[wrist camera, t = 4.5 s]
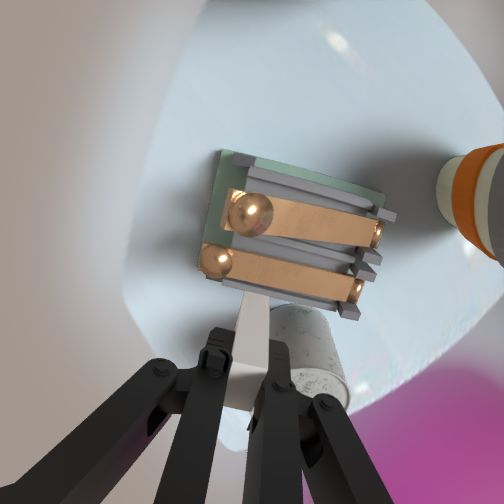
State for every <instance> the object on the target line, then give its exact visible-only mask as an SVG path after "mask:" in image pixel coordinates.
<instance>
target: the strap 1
mask: <svg viewBox="0 0 504 504" xmlns="http://www.w3.org/2000/svg"><path fill="white" fill-rule="evenodd" d="M384 226H385V223H384V222H382V221H380V220H377V219H374V218H370V217H366V216H362V215H358V214H354V213H350V212H345V211H341V210H337V209H332V208H328V207H324V206H319V205H314V204H310V203H305V202H300V201H296V200H291V199H286V198H281V197H276V196H271V195H266V194H260V193H258V192H255V191H244V190H239V189H233V188H228V193H227V197H226V201H225V206H224V210H223V214H222V219H221V223H220V227H221V228H223V229H224V230H229V231H236V232H237V233H239V234H240V235H241V236H244V237H248V238H252V237H257V236H259V235H261V234H265V235H274V236H282V237H291V238H299V239H307V240H316V241H324V242H332V243H340V244H348V245H355V246H363V247H371V248H375V249H377V247H378V244H379V241H380V238H381V235H382V232H383V229H384Z"/></svg>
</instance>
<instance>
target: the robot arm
mask: <svg viewBox="0 0 504 504" xmlns="http://www.w3.org/2000/svg"><path fill="white" fill-rule="evenodd" d="M269 311H270V297H269V296H265V295H261V294H257V293H253V292H248V291H244V295H243V299H242V303H241V306H240V310H239V314H238V318H237V322H236V326H235V329H234V331H231V330H227V329H223V328H219V327H216V328H214V329H213V330H212V331H210V334H209V337H208V340H207V344H206V346H205V348H203V349H202V350H201V351H200V355H199V360H198V365H197V366H196V367H194V368H190V369H177V367H176V365H175V364H174V363H173V362H171V361H170V360H167V359H163V358H156V359H151V360H150V361H148V362H147V363H146V364H145V365H144V366H143V367H142V368H140V369H139V370H138V371H137V372H136V373H135V374H134V375H133V376H132V377H131V378H130V379H129V380H127V381H126V382H125V383H124V384H123V385H122V386H121V387H120V388H119V389H118V390H117V391H116V392H114V393H113V394H112V395H111V396H110V397H109V398H108V399H107V400H106V401H105V402H104V403H102V404H101V405H100V406H99V407H98V408H97V409H96V410H95V411H94V412H93V413H92V414H91V415H89V416H88V417H87V418H86V419H85V420H84V421H83V422H82V423H81V424H80V425H79V426H77V427H76V428H75V429H74V430H73V431H72V432H71V433H70V434H69V435H67V436H66V437H65V438H64V439H63V440H62V441H61V442H60V443H59V444H58V445H57V446H55V447H54V448H53V449H52V450H51V451H50V452H49V453H48V454H47V455H45V456H44V457H43V458H42V459H41V460H40V461H39V462H38V463H37V464H35V465H34V466H33V467H32V468H31V469H30V470H29V471H28V472H27V473H25V474H24V475H23V476H22V477H21V478H20V479H19V480H18V481H16V482H15V483H13V484H10V485H7V486H4V487H1V488H0V504H100V503H101V502H102V501H103V499H104V498H105V497H106V496H107V495H108V494H109V492H110V491H111V490H112V489H113V488H114V486H115V485H116V484H117V483H118V482H119V480H120V479H121V478H122V477H123V476H124V474H125V473H126V472H127V471H128V470H129V468H130V467H131V466H132V465H133V463H134V462H135V461H136V460H137V459H138V457H139V456H140V455H141V453H142V452H143V451H144V450H145V449H146V447H147V446H148V445H149V444H150V442H151V441H152V440H153V439H154V437H155V436H156V435H157V434H158V432H159V431H160V430H161V429H162V427H163V426H164V425H165V423H166V422H167V421H168V420H169V418H170V417H171V415H172V414H182V415H181V418H180V421H179V424H178V427H177V430H176V433H175V436H174V440H173V443H172V446H171V449H170V452H169V455H168V458H167V461H166V465H165V468H164V471H163V474H162V477H161V481H160V484H159V487H158V490H157V493H156V497H155V500H154V503H153V504H204V503H205V498H206V493H207V488H208V483H209V477H210V472H211V467H212V462H213V456H214V451H215V446H216V440H217V435H218V430H219V425H220V419H221V414H222V409H223V406H226V407H230V408H235V409H239V410H244V411H249V412H252V410H253V407H254V413H253V416H252V418H251V421H250V423H249V425H248V428H247V431H249V430H250V432H249V442H248V452H247V463H246V472H245V483H244V492H243V501H242V504H303V487H302V470H303V473H304V476H305V479H306V481H307V484H308V487H309V490H310V493H311V496H312V499H313V501H314V504H394V503H393V501H392V499H391V497H390V495H389V493H388V491H387V489H386V487H385V486H384V483H383V482H382V480H381V478H380V476H379V474H378V472H377V470H376V468H375V466H374V465H373V463H372V461H371V459H370V457H369V455H368V453H367V451H366V449H365V448H364V446H363V444H362V442H361V440H360V438H359V436H358V434H357V432H356V431H355V429H354V427H353V425H352V423H351V421H350V419H349V417H348V415H347V413H346V412H345V410H344V408H343V406H342V404H341V402H340V401H339V400H338V399H337V398H336V397H334V396H333V395H330V394H326V393H320V394H317V395H315V396H314V397H313V398H311V397H309V396H306V395H304V394H302V393H300V392H299V391H297V390H296V386H295V384H294V383H293V382H292V380H291V369H290V357H289V356H290V355H289V348H288V346H287V345H286V343H285V342H282V341H277V340H272V339H269Z"/></svg>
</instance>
